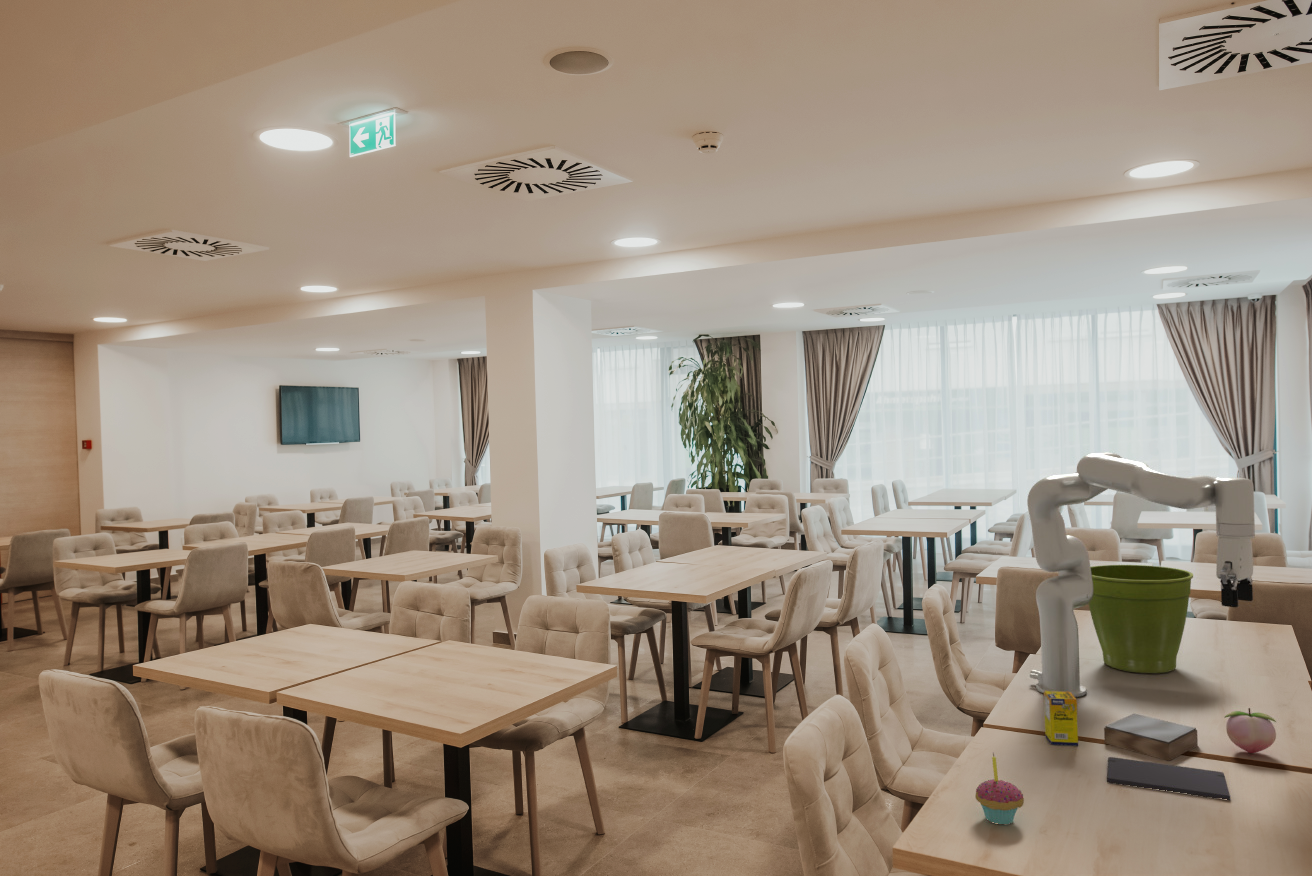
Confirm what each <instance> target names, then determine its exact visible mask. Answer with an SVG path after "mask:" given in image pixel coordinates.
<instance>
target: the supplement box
mask: <svg viewBox="0 0 1312 876" xmlns="http://www.w3.org/2000/svg"><path fill="white" fill-rule="evenodd" d="M1043 701H1044V703H1043V704H1044V707H1043V708H1044V736H1045V738H1046V740H1047V741H1048V742H1049V743H1050V745H1052V746H1071V747H1072V746H1074V747H1078V746H1079V735H1078V734H1079V729H1078V726H1079V725H1078V699H1077V697H1074V696H1073V695H1072V694H1071V692H1058V691H1044V693H1043Z"/></svg>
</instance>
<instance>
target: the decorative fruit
mask: <svg viewBox="0 0 1312 876" xmlns="http://www.w3.org/2000/svg"><path fill="white" fill-rule="evenodd" d="M1225 718H1227V720H1226V725H1225V726H1226V727H1225V728H1226V734H1227V736H1228V739H1230V741H1231V742H1232V743H1233V744H1234V745H1235V746H1236V747H1238V748H1240V749H1241V750H1244V751H1245V752H1247V753H1250V754H1256V753H1260V752H1261V751H1262V752H1263V751H1264V750H1267V749H1268V748H1270V747H1271V746H1272V745H1274V743H1275V742H1276V739H1277V732H1276V729H1275V726H1274V724H1273V723H1272V722H1271V721H1273V722H1274V723H1277V720H1276V719H1274V718H1273V717H1272V716H1270V715H1269V714H1266V713H1264V712H1263V713H1262V712H1251V708H1250V707H1248V710H1247V711H1241V710H1235V711H1231V712H1228V713H1227V714H1226V715H1225V716H1224V719H1225Z"/></svg>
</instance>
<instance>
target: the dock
mask: <svg viewBox="0 0 1312 876" xmlns="http://www.w3.org/2000/svg"><path fill="white" fill-rule="evenodd" d="M1103 732H1104V738H1103V739H1104V744H1106V745H1108V746H1109V745H1110V746H1112V747H1113V746H1114V747H1117V748H1121V749H1124V750H1128V751H1131V752H1132V751H1133V752H1135V753H1140V754H1142V755H1147V756H1150V757H1154V758H1158V759H1161V760H1165V761H1168V762H1170V761H1172V760H1173V759H1176V758H1177V757H1179V756H1181V755H1183V754H1185V753H1186V752H1188V750H1189V751H1190V749H1191V750H1193V749H1194V748H1196V747H1198V743H1199V742H1198V729H1197V728H1196V727H1193V726H1190V725H1189V726H1188V725H1185V724H1184V725H1183V724H1180V723H1176V722H1172V721H1168V720H1163V719H1158V718H1155V717H1151V716H1146V715H1141V714H1139V713H1138V714H1137V713H1132V714H1130V715H1128V716H1125V717H1123V718H1120V719H1117V720H1116V721H1113V722H1112V723H1109V724H1107V725H1105V726H1104V728H1103Z"/></svg>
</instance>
